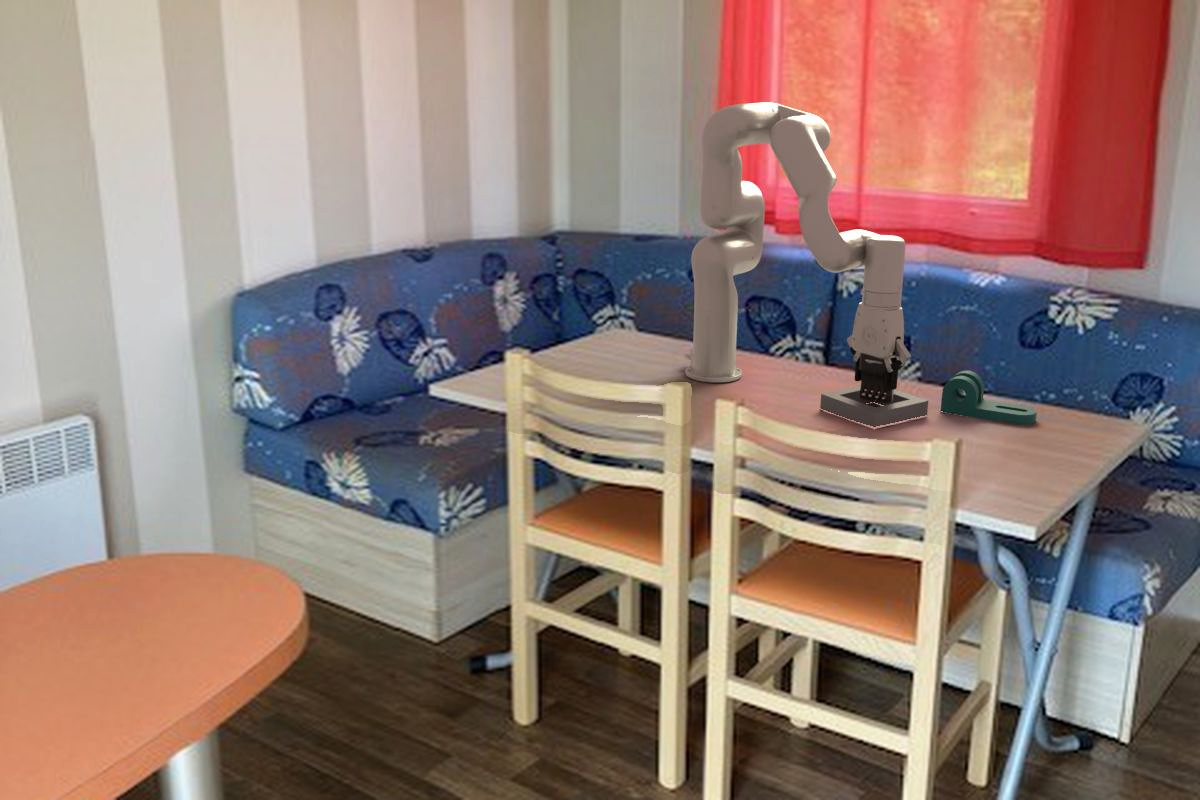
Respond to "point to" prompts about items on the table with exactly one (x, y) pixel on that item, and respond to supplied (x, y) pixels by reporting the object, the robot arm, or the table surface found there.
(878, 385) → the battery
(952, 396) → the bracket
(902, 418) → the frame
